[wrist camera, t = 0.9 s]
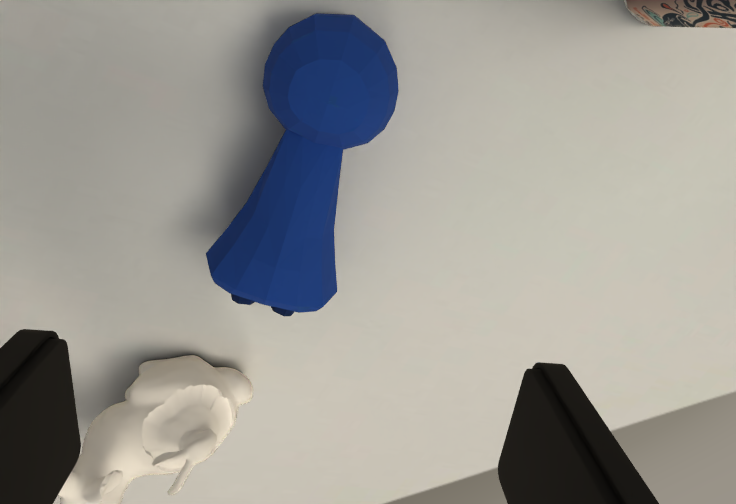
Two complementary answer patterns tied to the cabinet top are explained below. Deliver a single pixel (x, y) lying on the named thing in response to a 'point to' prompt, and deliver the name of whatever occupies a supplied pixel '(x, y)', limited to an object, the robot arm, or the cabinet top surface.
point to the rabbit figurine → (157, 428)
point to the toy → (306, 162)
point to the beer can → (684, 12)
